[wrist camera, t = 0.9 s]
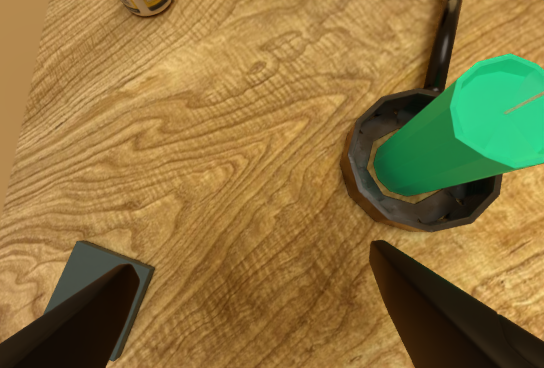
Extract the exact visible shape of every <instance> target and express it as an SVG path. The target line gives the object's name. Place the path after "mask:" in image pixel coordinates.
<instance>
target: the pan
mask: <svg viewBox="0 0 544 368" xmlns="http://www.w3.org/2000/svg"><path fill="white" fill-rule="evenodd" d="M461 5H462V0H443V2H442V6H441V11H440V15H439V20H438V24H437V29H436V33H435V38H434V43H433V47H432V52H431V56H430V61H429V65H428V70H427V74H426V79H425V83H424V88H423V89H421V88H416V89H412V90H408V91H403V92H399V93H395V94H391V95H387V96H383V97H381V98H380V99H379V100H378V101H377V102H376V103H375V104H374V105H372V106H371V107H370V108H369V109H368V110H367V111H366V112H365V113H364V114H363V115H362V116H361V117H359V118H358V119H357V121H356V122H355V124H354V125H353V127H352V128H351V130H350V131H349V133H348V135H347V138H346V142H345V146H344V149H343V153H342V157H341V160H340V167H341V170H342V174H343V177H344V180H345V184H346V187H347V191H348V194H349V196H350V197H351V198H352V199H353V200H354V201H355V202H356V203H357V204H358V205H359V206H360V207H361V208H362V209H363V210H364V211H365V212H366V213H367V214H368V215H369V216H370V217H371V218H372V219H373V220H374V221H377V222H380V223H383V224H387V225H390V226H393V227H397V228H400V229H403V230H407V231H410V232H435V231H440V230H444V229H449V228H453V227H458V226H462V225H467V224H471V223H473V222H474V221H475V220H476V219H477V218H478V217H479V216H480V215H481V214H482V213H483V212H484V210H485V209H486V208H487V207H488V206H489V205H490V204H491V203H492V202H493V201H494V200H495V199H496V198H497V197H498V196H499V195H500V189H501V182H502V175H503V174H499V175H495V176H491V177H487V178H483V179H479V180H475V181H471V182H467V183H463V184H459V185H455V186H451V187H446V188H442V190H441V191H439V192H437V193H435V194H433V195H431V196H429V197H428V198H426V199H424V200H422V201H420V202H418V203H416V204H412V203H409V202H405V201H402V200H398V199H395V198H391V197H388V196H384V195H383V194H382V192H381V191H380V189H379V188H378V186H377V184H376V183H375V181H374V180H373V178H372V177H371V175H370V173H369V172H368V170H367V169H366V168H367V164H368V160H369V156H370V152H371V148H372V144H373V141H375V140H377V139H379V138H381V137H383V136H385V135H387V134H388V133H390V132H392V131H394V130H396V129H398V128H399V129H401V128H402V127H403V126H404V125H406V124H407V123H408V122H409V121H410V120H411V119H412V118H414V117H415V116H416V115H417V114H418V113H419V112H420V111H422V110H423V109H424V108H425V107H426V106H427V105H428V104H430V103H431V102H432V101H433V100H434V99H435V98H436V97H438V96H439V95H440V94H441V93H442V92H443V91H444V89H445V84H446V79H447V74H448V69H449V64H450V59H451V54H452V49H453V44H454V39H455V35H456V30H457V25H458V20H459V15H460V10H461ZM394 112H397V114H395V113H394ZM375 116H377V117H375ZM373 117H375V118H373ZM372 118H373V119H372ZM370 119H371V120H370ZM369 120H370V121H369ZM359 132H361V133H362V134H361V133H359ZM456 199H458V200H461V201H460V202H459V203H458V202H457V200H456ZM445 215H446V216H445ZM443 216H445V217H444V218H443V219H439V218H441V217H443ZM437 219H439V220H437ZM418 220H419V222H420V223H419V222H418Z"/></svg>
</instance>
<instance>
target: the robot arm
mask: <svg viewBox="0 0 544 368" xmlns="http://www.w3.org/2000/svg"><path fill="white" fill-rule="evenodd" d="M369 261H370V265H371V268H372V271H373V273H374V276H375V279H376V282H377V284H378V287H379V290H380V293H381V296H382V298H383V301H384V304H385V306H386V308H387V310H388V313H389V315H390V317H391V319H392V321H393V323H394V325H395V327H396V329H397V331H398V333H399V335H400V338H401V340H402V342H403V344H404V346H405V348H406V350H407V352H408V354H409V356H410V358H411V360H412V362H413V364H414V366H415V368H544V341H542V340H541V339H539V338H537V337H536V336H534V335H533V334H531V333H529V332H528V331H526V330H524V329H523V328H521V327H520V326H518V325H516V324H515V323H513V322H512V321H510V320H509V319H507V318H505V317H504V316H502V315H500V314H499V315H498V314H497V312H496V311H494V310H493V309H491V308H490V307H488V306H486V305H485V304H483V303H482V302H480V301H479V300H477V299H475V298H474V297H472V296H471V295H469V294H468V293H466V292H464V291H463V290H461V289H460V288H458V287H457V286H455V285H453V284H452V283H450V282H449V281H447V280H446V279H444V278H442V277H441V276H439V275H438V274H436V273H435V272H433V271H431V270H430V269H428V268H427V267H425V266H424V265H422V264H420V263H419V262H417V261H416V260H414V259H413V258H411V257H409V256H408V255H406V254H405V253H403V252H402V251H400V250H398V249H397V248H395V247H394V246H392V245H391V244H389V243H387V242H386V241H384V240H376V241H372V242H371V245H370V255H369ZM139 285H140V278H139V276H138V274H137V272H136V270H135V268H134V266H133V265H132V264H130V263H127V264H119V265H117V266H116V267H114V268H113V269H111V270H110V271H108V272H107V273H105V274H104V275H102V276H101V277H99V278H98V279H96V280H95V281H93V282H92V283H90V284H89V285H87V286H86V287H84V288H83V289H81V290H80V291H78V292H77V293H75V294H74V295H72V296H71V297H69V298H68V299H66V300H65V301H63V302H62V303H60V304H59V305H57V306H56V307H54V308H53V309H51V310H50V311H48V312H47V313H45V314H44V315H42V316H41V317H40V318H38V319H37V320H35V321H34V322H32V323H31V324H29V325H28V326H26V327H25V328H23V329H22V330H20V331H19V332H17V333H16V334H14V335H13V336H11V337H10V338H8V339H7V340H5V341H4V342H2V343H1V344H0V368H106V365H107V363H108V361H109V359H110V357H111V355H112V352H113V350H114V348H115V346H116V344H117V342H118V339H119V337H120V335H121V333H122V331H123V328H124V326H125V323H126V321H127V318H128V315H129V313H130V310H131V307H132V304H133V302H134V299H135V296H136V293H137V290H138V288H139Z"/></svg>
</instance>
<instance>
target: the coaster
mask: <svg viewBox="0 0 544 368" xmlns="http://www.w3.org/2000/svg"><path fill="white" fill-rule="evenodd" d="M127 263H130V264H132V265H133V266H134V268H135V270H136V272H137V274H138V276H139V278H140V285H139V288H138V290H137V293H136V296H135V299H134V302H133V304H132V307H131V310H130V313H129V315H128V318H127V321H126V323H125V326H124V328H123V331H122V333H121V335H120V337H119V339H118V342H117V344H116V346H115V348H114V350H113V352H112V355H111V357H110V359H109V360H111V361H115V360H116V359H117V358H119V357H120V355H121V352H122V350H123V347H124V345H125V342H126V340H127V337H128V335H129V332H130V330H131V327H132V325H133V322H134V320H135V317H136V314H137V312H138V309H139V307H140V304H141V302H142V299H143V297H144V294H145V292H146V289H147V287H148V284H149V282H150V279H151V277H152V274H153V271H154V269H155V268H154V267H152V266H149V265H146V264H144V263H141V262H139V261H136V260H133V259H131V258H128V257H126V256H123V255H121V254H118V253H115V252H113V251H110V250H108V249H105V248H102V247H100V246H97V245H95V244H92V243H89V242H87V241H77V242H76V244H75V247H74V249H73V251H72V253H71V255H70V257H69V260H68V262H67V264H66V266H65V268H64V271H63V273H62V275H61V277H60V279H59V281H58V284H57V286H56V288H55V290H54V292H53V294H52V297H51V299H50V301H49V303H48V305H47V308H46V310H45V312H44V314H45V313H47V312H48V311H50V310H51V309H53V308H54V307H56V306H57V305H59V304H60V303H62V302H63V301H65V300H66V299H68V298H69V297H71V296H72V295H74V294H75V293H77V292H78V291H80V290H81V289H83V288H84V287H86V286H87V285H89V284H90V283H92V282H93V281H95V280H96V279H98V278H99V277H101V276H102V275H104V274H105V273H107V272H108V271H110V270H111V269H113V268H114V267H116V266H117V265H119V264H127ZM44 314H43V315H44Z"/></svg>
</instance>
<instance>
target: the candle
mask: <svg viewBox="0 0 544 368" xmlns="http://www.w3.org/2000/svg"><path fill="white" fill-rule="evenodd" d="M543 163H544V70H543V69H542V68H541V67H540V66H539V65H538V64H536V63H533V62H531V61H528V60H526V59H523V58H521V57H518V56H516V55H513V54H511V53H510V54H506V55H502V56H498V57H494V58H491V59H487V60H483V61H479V62H477V63H475V64H474V65H473V66H472V67H471V68H470V69H469V70H467V71H466V72H465V73H464V74H463V75H462V76H461V77H459V78H458V79H457V80H456V81H455V82H454V83H453V84H451V85H450V86H449V87H448V88H447V89H446V90H445V91H443V92H442V93H441V94H440V95H439V96H438V97H436V98H435V99H434V100H433V101H432V102H431V103H430V104H428V105H427V106H426V107H425V108H424V109H423V110H422V111H420V112H419V113H418V114H417V115H416V116H415V117H414V118H412V119H411V120H410V121H409V122H408V123H407V124H406V125H404V126H403V127H402V128H401V129H400V130H399V131H398V132H396V133H395V134H394V135H393V136H392V137H391V138H389V139H388V140H387V141H386V142H385V143H384V144H383V145H382V146H380V147H379V148H378V149H377V153H376V156H375V160H374V163H373V164H374V168H375V171H376V175H377V178H378V180H379V181H380V182H381V183H382V184H383V185H384V186H385V187H386V188H387V189H388V190H389V191H391V192H394V193H398V194H401V195H404V196H411V195H417V194H422V193H426V192H430V191H434V190H438V189H442V188H446V187H451V186H455V185H459V184H463V183H467V182H471V181H475V180H479V179H483V178H487V177H491V176H495V175H499V174H503V173H507V172H511V171H515V170H519V169H523V168H527V167H531V166H535V165H539V164H543Z"/></svg>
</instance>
